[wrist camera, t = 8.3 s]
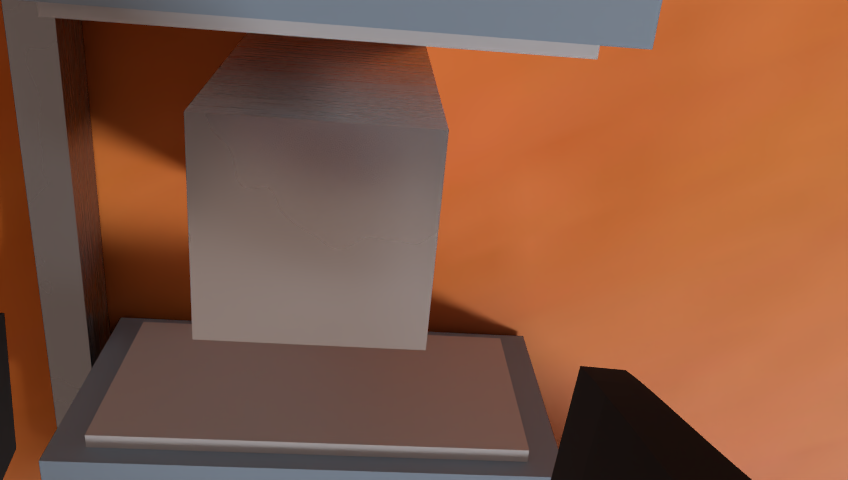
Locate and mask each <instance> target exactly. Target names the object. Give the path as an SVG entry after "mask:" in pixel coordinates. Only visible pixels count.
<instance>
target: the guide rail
mask: <svg viewBox="0 0 848 480" xmlns="http://www.w3.org/2000/svg"><path fill="white" fill-rule="evenodd" d="M1 2H2V9H3V17H4V25H5V32H6V40H7V48H8V55H9V63H10V71H11V78H12V86H13V94H14V101H15V109H16V117H17V124H18V132H19V139H20V147H21V155H22V162H23V170H24V178H25V185H26V193H27V201H28V208H29V216H30V224H31V231H32V239H33V247H34V254H35V262H36V270H37V277H38V285H39V293H40V300H41V308H42V316H43V323H44V331H45V339H46V346H47V354H48V362H49V369H50V377H51V385H52V392H53V400H54V408H55V415H56V423H57V428H58V426H59V425H60V423H61V421H62V420H63V418H64V416H65V414H66V413H67V411H68V409H69V407H70V406H71V404H72V402H73V400H74V399H75V397H76V395H77V393H78V392H79V390H80V388H81V386H82V385H83V383H84V381H85V379H86V378H87V376H88V374H89V372H90V371H91V369H92V367H93V365H94V364H95V362H96V360H97V358H98V357H99V355H100V353H101V352H102V350H103V348H104V346H105V345H106V343H107V341H108V339H109V338H110V329H109V318H108V307H107V296H106V285H105V274H104V263H103V252H102V241H101V230H100V219H99V208H98V197H97V186H96V175H95V164H94V153H93V142H92V131H91V120H90V109H89V98H88V87H87V76H86V65H85V54H84V43H83V32H82V21H81V20H76V19H63V18H50V17H38V8H37V2H35V1H22V0H1Z"/></svg>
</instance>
